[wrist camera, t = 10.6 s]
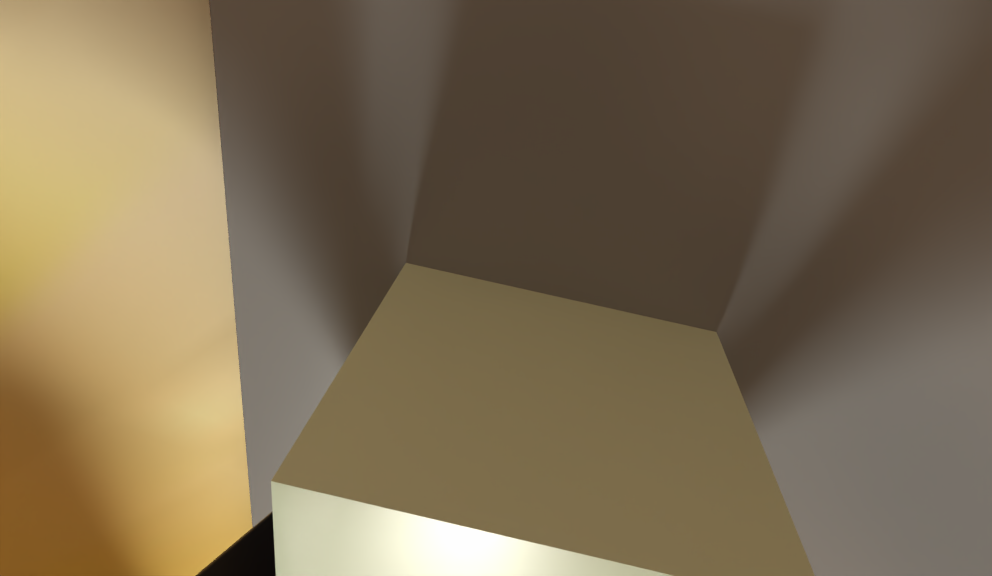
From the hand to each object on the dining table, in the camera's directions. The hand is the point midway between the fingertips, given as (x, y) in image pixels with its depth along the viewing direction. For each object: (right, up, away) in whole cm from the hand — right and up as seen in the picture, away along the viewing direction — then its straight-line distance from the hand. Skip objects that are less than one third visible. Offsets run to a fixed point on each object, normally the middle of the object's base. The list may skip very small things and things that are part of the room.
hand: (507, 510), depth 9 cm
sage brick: (0, +1, +1) cm, 1 cm away
